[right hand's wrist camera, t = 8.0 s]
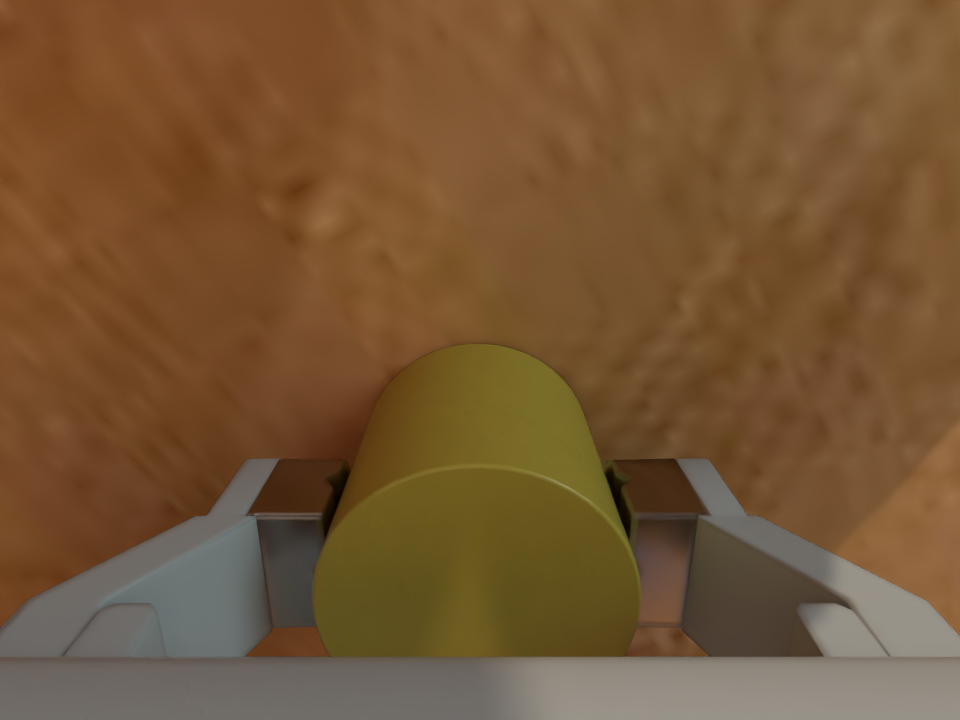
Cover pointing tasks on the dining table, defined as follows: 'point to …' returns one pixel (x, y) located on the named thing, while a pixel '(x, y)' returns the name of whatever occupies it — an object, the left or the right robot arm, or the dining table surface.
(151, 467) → the dining table surface
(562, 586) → the can
